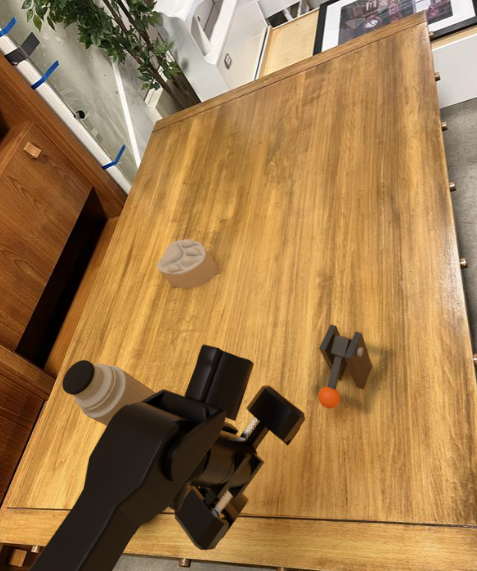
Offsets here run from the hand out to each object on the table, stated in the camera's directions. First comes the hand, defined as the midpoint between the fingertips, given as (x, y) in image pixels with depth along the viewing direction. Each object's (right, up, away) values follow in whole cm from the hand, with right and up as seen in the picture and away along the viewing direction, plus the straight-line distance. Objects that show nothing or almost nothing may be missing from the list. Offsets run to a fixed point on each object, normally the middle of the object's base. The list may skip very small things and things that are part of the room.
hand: (266, 469), depth 53 cm
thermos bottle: (-15, -4, +21) cm, 27 cm away
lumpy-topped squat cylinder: (-14, +28, +45) cm, 55 cm away
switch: (+12, +11, +8) cm, 18 cm away
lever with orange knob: (+16, +9, +15) cm, 24 cm away
